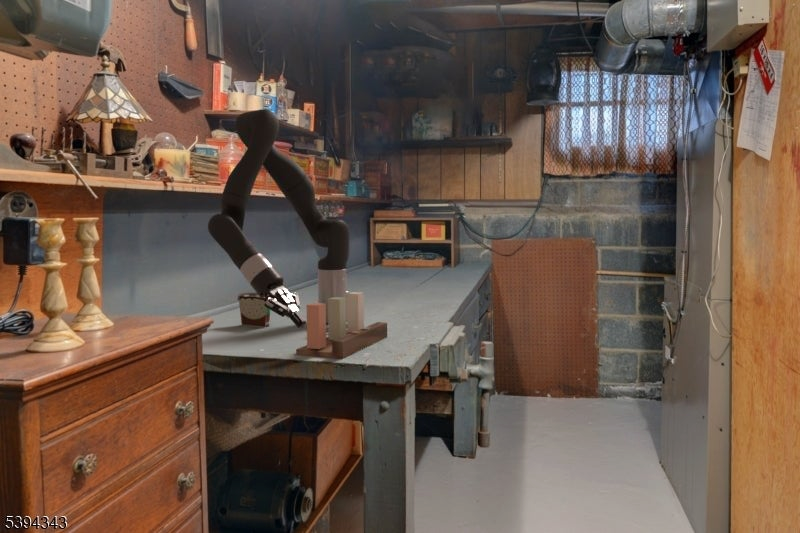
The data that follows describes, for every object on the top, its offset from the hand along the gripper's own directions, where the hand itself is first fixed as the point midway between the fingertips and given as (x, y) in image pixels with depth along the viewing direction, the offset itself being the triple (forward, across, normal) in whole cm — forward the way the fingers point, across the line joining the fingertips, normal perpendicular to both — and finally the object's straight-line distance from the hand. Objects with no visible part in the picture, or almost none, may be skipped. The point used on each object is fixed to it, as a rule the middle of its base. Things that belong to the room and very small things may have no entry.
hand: (302, 325), depth 152 cm
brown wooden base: (+9, +11, +1) cm, 15 cm away
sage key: (+6, +11, +1) cm, 13 cm away
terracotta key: (+7, 0, +1) cm, 7 cm away
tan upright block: (+6, +22, +1) cm, 23 cm away
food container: (-18, +27, +28) cm, 43 cm away
